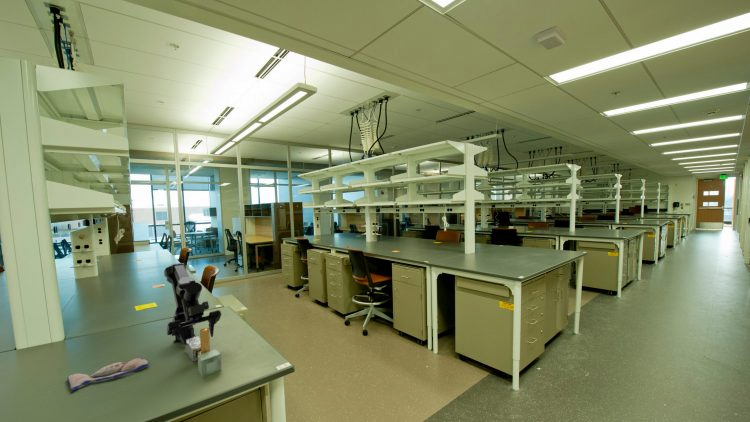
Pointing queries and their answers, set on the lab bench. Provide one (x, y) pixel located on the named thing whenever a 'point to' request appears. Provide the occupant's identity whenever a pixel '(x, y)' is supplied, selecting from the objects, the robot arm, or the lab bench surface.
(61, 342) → the lab bench surface
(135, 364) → the anatomical model
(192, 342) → the aluminium sleeve
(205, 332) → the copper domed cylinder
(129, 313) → the lab bench surface
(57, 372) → the lab bench surface
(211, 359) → the green socket
